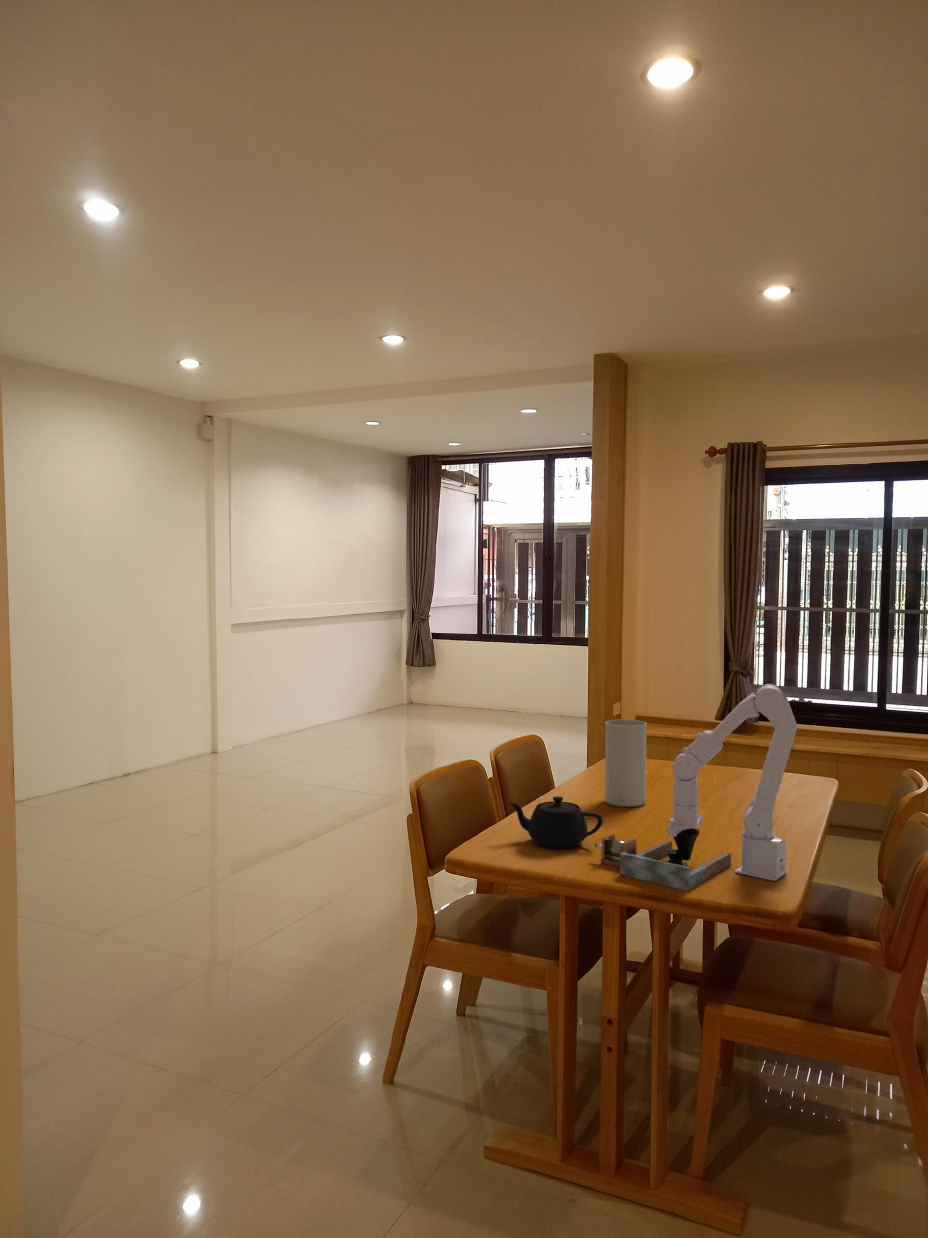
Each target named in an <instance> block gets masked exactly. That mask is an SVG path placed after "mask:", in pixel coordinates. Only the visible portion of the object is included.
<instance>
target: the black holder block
mask: <svg viewBox="0 0 928 1238" xmlns="http://www.w3.org/2000/svg"><path fill="white" fill-rule="evenodd" d="M663 861H664V862H668V863H673V864H677V865H682V866H686V867H689V864H688V861H684V860H683V859H682V851H681V850H680V849H678V848H676V849H674V848H672V849H669V854H668V859H667V860H663Z"/></svg>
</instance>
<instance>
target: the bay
mask: <svg viewBox="0 0 928 1238" xmlns="http://www.w3.org/2000/svg"><path fill="white" fill-rule="evenodd" d="M669 849H673V841H672V840H669V839H665V840H663V841H661V842H659V843H657V844H655V845H653V846H650V847H649V848H646V849H645V850H642V851H640V852H637V853H636V855H632V854H628V853H623V852H622V853H621V858H620V867H619V868H620V869H619V870H620V871H619V874H620V875H621V876H625V877H629V878H634V879H637V880H642V881H645V882H646V881H647V882H650V883H653V884H657V885H662V886H665V887H671V888H675V889H679V890H682V891H685V892H686V891H687V892H690V891H691V890H692V889H693V888H696V887H697V886H699V885H700V884H702V883H704V882H706V881H707V880H709V879H710V878H712V877H714V876H715V875H717V874H719V873H721V872H723V871H724V870H726V869H727V868H729V867H730V866H732V852H728V851H724V852H722V853H721V854H719V855H717V856H715V857H713V858H711V859H710V860H708V861H706V862H705V863H703V864H701V865H699V866H698V867H696V868H694V869H692V870H691V867H689V866H688V867H686V866H682V865H677V864H673V863H668V862H664V861H665V860H660V859H663V858H665V857H666V856H669Z"/></svg>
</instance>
